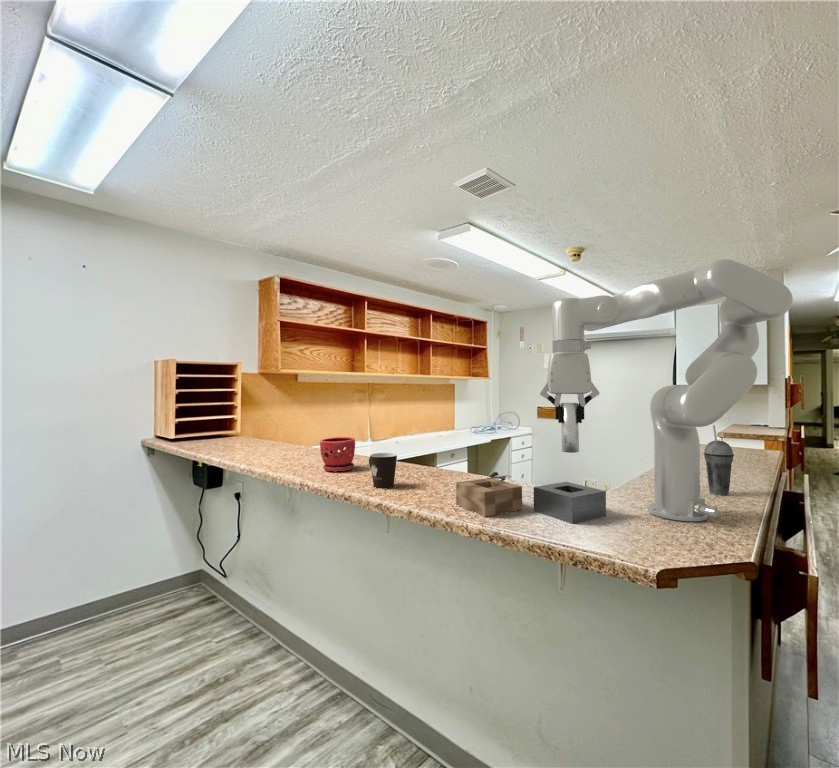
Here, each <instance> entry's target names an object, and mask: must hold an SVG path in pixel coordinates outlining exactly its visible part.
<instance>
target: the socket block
mask: <svg viewBox="0 0 839 768" xmlns="http://www.w3.org/2000/svg"><path fill="white" fill-rule="evenodd" d="M533 511H534V512H536V513H539V514H542V515H545V516H548V517H550V518H553V517H554V519H556V518H557V520H559V519H560V521H562V520H563V522H565V521H566V523H568V522H569V524H573V525H574V524H577V523H581V522H586V521H591V520H594V518H595V519H599V518H602V516H603V517H607V491H606V490H604V489H599V488H594V487H590V486H586V485H582V484H577V483H574V482H569V481H562V482H555V483H549V484H544V485H537V486H533ZM598 517H599V518H598ZM590 519H591V520H590Z"/></svg>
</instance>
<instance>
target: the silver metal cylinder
mask: <svg viewBox="0 0 839 768" xmlns="http://www.w3.org/2000/svg"><path fill="white" fill-rule="evenodd" d="M560 404H561V407H562V422H561V423H560V425H561V426H560V427H561V452H562V453H569V454H570V453H571V454H574V453H579V452H580V439H579V433H580V429H579V422H578V404H579V402H560Z"/></svg>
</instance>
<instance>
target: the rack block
mask: <svg viewBox="0 0 839 768" xmlns="http://www.w3.org/2000/svg"><path fill="white" fill-rule="evenodd" d="M455 485H456V486H455V489H456V490H455V491H456V492H455V493H456V495H455V496H456V497H455V501H456V506H457V505H459V506H461V507H460V508H462V507H463V508H462V509H464V508H466V509H468V510H467V511H469V510H471V511H473V512H472V513H474V512H476V513H478V514H480V515H479V516H481V515H482V516H481V517H483V516H485V517H484V518H487V517H486V516H489V517H493V516H492V515H494V516H497V514H499V515H502V514H501V513H504V514H507V513H506V512H509V513H512V512H511V511H514V512H518V511H517V510H519V511H523V485H520V484H519V485H518V484H515V483H511V482H509V481H504V480H503V481H501V480H499V478H488V477H486V478H481V479H474V480H473V479H472V480H466V481H465V480H464V481H458V482H455ZM459 506H458V507H459ZM466 509H465V510H466ZM471 511H470V512H471ZM476 513H475V514H476ZM478 514H477V515H478Z"/></svg>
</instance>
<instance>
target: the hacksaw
mask: <svg viewBox="0 0 839 768" xmlns="http://www.w3.org/2000/svg"><path fill="white" fill-rule="evenodd" d="M488 477H491V478H494V479H503V481H504V480H505V479H506V478H507V476H506V475H502V476H499V473H498V472H497V471H494V472H492V473H491V474H490V475H489V476H488ZM511 477H512V476H511V475H509V476H508V479H510V478H511ZM501 481H502V480H501Z"/></svg>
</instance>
